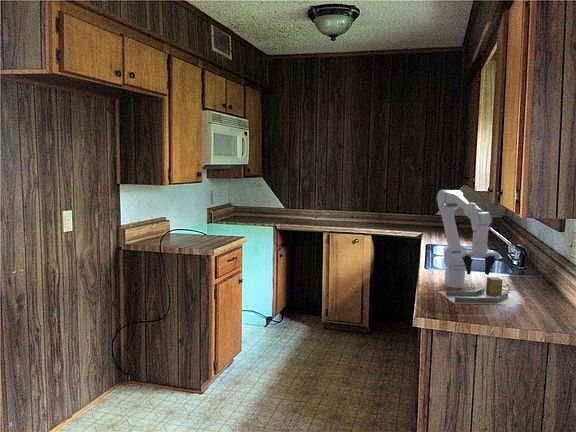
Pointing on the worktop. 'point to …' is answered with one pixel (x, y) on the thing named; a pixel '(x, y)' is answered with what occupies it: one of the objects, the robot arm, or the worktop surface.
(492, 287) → the walnut block
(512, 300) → the channel board
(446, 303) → the worktop surface
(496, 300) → the rails
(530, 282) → the worktop surface
